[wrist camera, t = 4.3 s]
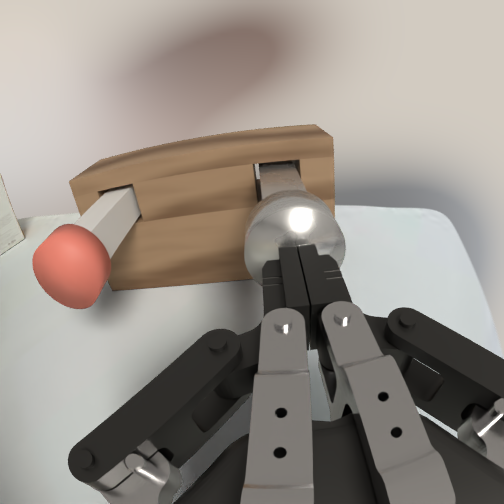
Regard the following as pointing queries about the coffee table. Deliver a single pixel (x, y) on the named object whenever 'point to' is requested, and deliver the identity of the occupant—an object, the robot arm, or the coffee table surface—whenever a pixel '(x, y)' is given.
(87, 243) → the red plunger
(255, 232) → the grey plunger
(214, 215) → the walnut housing
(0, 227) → the small box
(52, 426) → the coffee table surface
